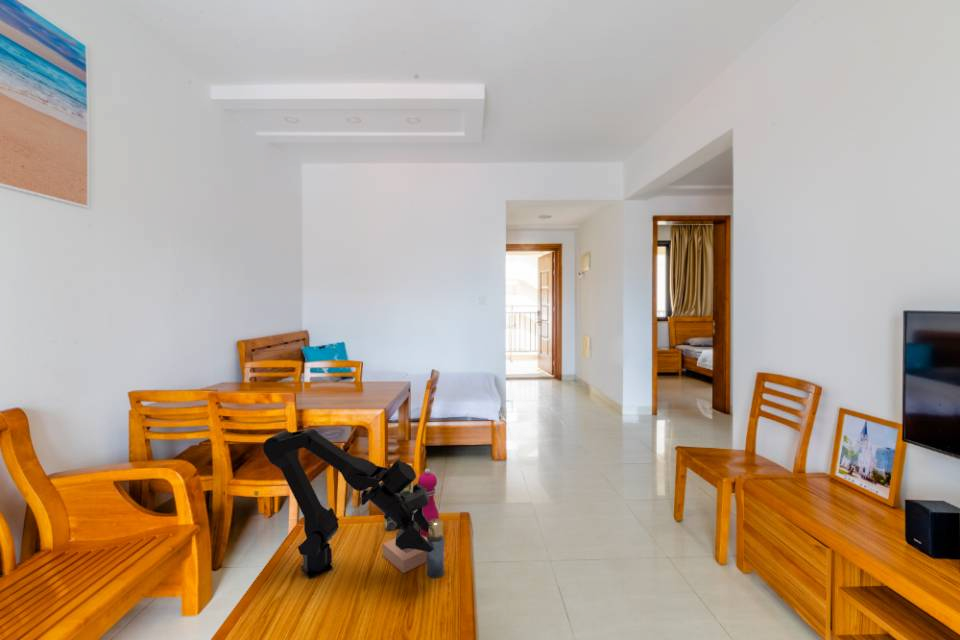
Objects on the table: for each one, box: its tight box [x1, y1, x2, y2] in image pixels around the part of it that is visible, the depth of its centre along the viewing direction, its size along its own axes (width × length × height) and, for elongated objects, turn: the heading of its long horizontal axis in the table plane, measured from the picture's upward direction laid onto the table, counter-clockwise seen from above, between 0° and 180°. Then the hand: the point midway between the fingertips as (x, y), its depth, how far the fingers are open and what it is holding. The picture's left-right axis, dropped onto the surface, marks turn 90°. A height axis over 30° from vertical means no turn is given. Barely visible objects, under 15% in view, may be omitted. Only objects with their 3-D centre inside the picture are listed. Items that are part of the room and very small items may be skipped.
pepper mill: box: [417, 468, 440, 536], centre depth 139 cm, size 7×7×20 cm
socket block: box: [382, 535, 427, 574], centre depth 125 cm, size 11×11×4 cm
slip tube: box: [426, 518, 445, 579], centre depth 118 cm, size 5×5×14 cm
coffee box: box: [384, 484, 411, 532], centre depth 141 cm, size 8×3×13 cm, turn 111°
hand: (431, 540), depth 117 cm, fingers open, 9 cm apart
